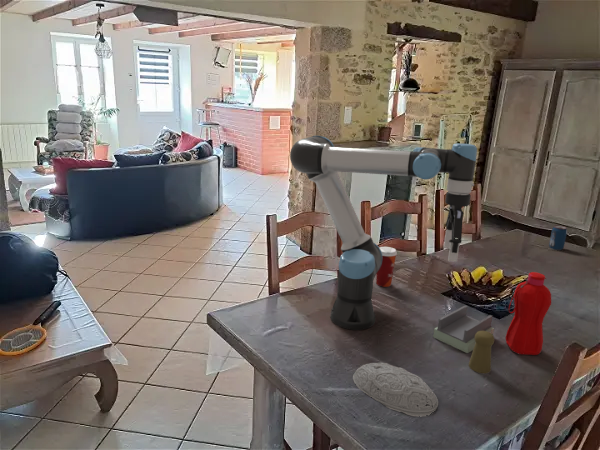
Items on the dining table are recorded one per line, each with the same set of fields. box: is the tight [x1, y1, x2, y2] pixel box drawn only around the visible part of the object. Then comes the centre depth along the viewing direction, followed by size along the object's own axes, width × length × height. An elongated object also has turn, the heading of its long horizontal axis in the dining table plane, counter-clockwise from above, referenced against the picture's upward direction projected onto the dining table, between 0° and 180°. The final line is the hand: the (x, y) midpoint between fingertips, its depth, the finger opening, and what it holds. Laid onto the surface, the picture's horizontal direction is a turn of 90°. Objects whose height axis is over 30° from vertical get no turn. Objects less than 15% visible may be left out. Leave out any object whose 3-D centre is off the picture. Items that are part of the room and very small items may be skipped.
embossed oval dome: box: [352, 362, 439, 418], centre depth 118 cm, size 16×25×7 cm, turn 51°
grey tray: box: [432, 304, 495, 354], centre depth 145 cm, size 16×12×7 cm
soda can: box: [548, 224, 568, 251], centre depth 238 cm, size 7×7×12 cm
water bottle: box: [505, 271, 552, 356], centre depth 137 cm, size 9×11×25 cm
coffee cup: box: [375, 246, 398, 288], centre depth 183 cm, size 8×8×15 cm
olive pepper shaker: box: [468, 331, 495, 374], centre depth 129 cm, size 6×6×11 cm
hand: (450, 254), depth 152 cm, fingers open, 13 cm apart
